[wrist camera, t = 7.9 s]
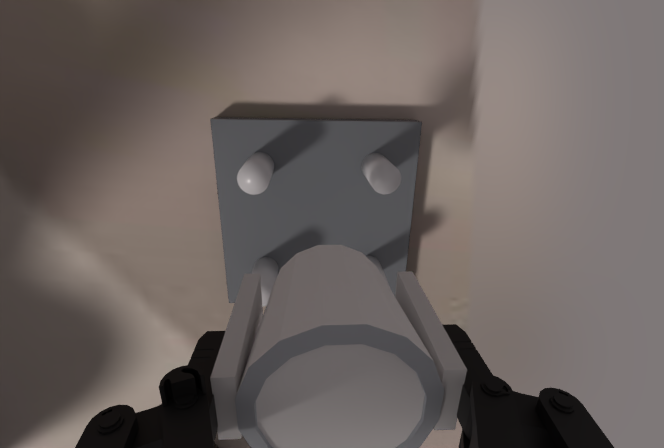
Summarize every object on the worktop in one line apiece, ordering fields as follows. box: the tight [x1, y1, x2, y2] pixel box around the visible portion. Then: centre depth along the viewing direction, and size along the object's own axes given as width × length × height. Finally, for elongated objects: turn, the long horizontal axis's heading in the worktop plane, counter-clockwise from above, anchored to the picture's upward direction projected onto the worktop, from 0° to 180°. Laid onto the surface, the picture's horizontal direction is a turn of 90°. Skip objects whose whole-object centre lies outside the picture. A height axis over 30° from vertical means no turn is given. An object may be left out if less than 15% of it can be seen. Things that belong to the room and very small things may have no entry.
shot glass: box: [235, 245, 444, 448], centre depth 15 cm, size 7×7×7 cm
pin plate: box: [211, 117, 422, 307], centre depth 27 cm, size 15×15×6 cm
